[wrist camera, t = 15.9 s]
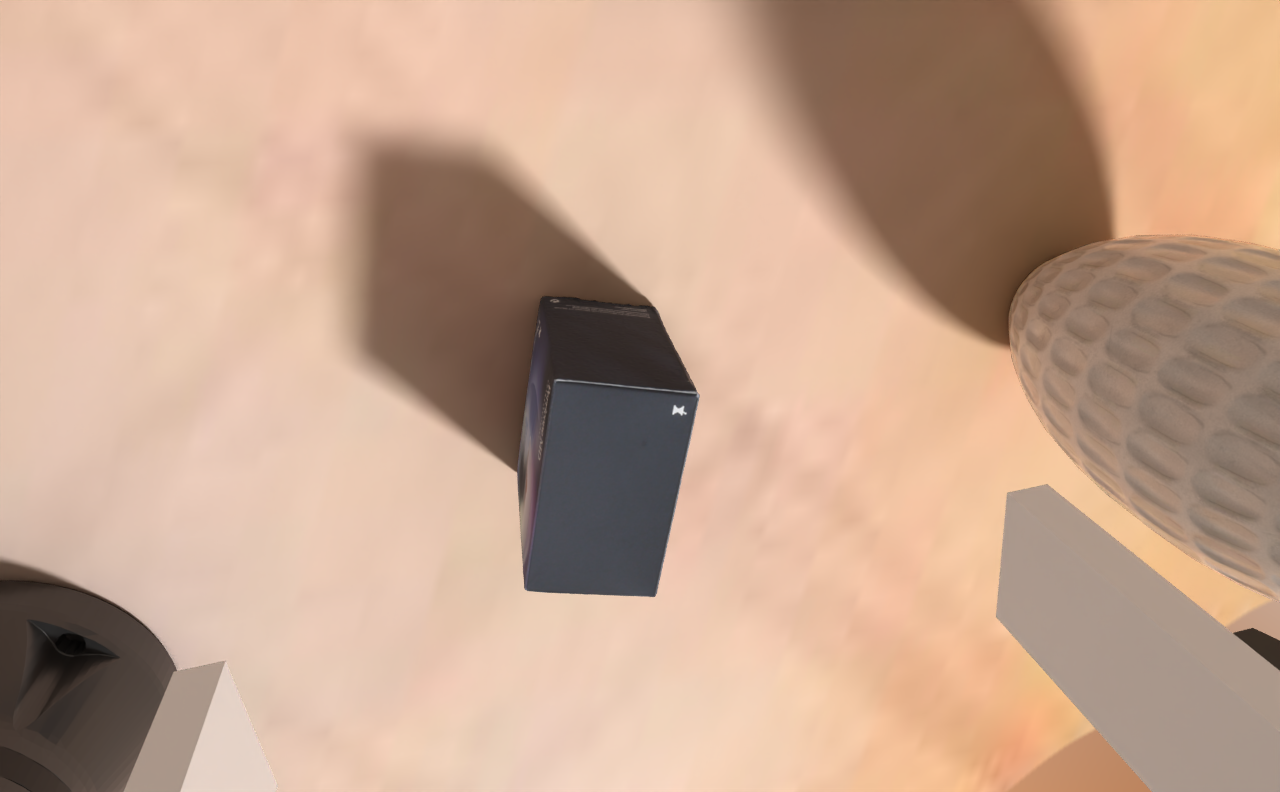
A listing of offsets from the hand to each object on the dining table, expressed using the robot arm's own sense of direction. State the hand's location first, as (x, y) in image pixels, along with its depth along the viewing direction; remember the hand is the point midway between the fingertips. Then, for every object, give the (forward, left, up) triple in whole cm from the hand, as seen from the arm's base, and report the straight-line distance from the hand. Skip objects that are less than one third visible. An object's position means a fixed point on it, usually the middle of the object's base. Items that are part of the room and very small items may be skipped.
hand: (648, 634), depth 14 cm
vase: (+28, -8, -30) cm, 42 cm away
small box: (+1, -9, -30) cm, 31 cm away
